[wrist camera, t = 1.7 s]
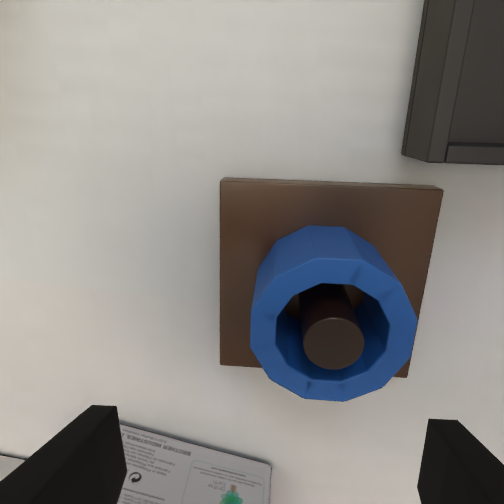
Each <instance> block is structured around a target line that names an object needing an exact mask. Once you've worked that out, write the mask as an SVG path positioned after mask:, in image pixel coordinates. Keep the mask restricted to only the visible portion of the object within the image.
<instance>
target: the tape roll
mask: <svg viewBox="0 0 504 504" xmlns="http://www.w3.org/2000/svg"><path fill="white" fill-rule="evenodd" d="M320 283H332V284H350V285H354V286H355V287H357V288H359V289H360V290H362V291H364V295H363V301H362V302H361V303H360V305H359V306H358V307H357V308H356V309H355V311H354V312H355V315H356V318H357V320H358V323H359V326H360V328H361V331H362V333H363V337H364V348H363V351H362V353H361V355H360V357H359V358H358V359H357V360H356V361H355V362H354V363H353V364H351V365H349V366H347V367H345V368H341V369H325V368H322V367H319V366H317V365H316V364H314V363H313V362H312V361H310V359H309V358H308V357H307V356H306V354H305V352H304V348H303V339H302V329H301V322H300V321H299V320H297V319H295V318H294V317H292V316H290V315H288V314H287V313H286V311H285V309H284V307H285V306H286V304H287V303H288V302H289V300H290V299H291V298H292V296H293V295H295V294H298V293H300V292H302V291H304V290H307V289H309V288H311V287H313V286H316V285H318V284H320ZM416 326H417V317H416V315H415V312H414V310H413V308H412V306H411V304H410V301H409V299H408V297H407V295H406V293H405V290H404V288H403V286H402V284H401V283H400V281H399V280H398V279H397V277H396V276H395V274H394V273H393V272H392V270H391V269H390V267H389V266H388V265H387V263H386V262H385V261H384V259H383V258H382V256H381V255H380V254H379V252H378V251H377V250H376V248H375V247H374V246H373V245H372V244H371V243H369V242H367V241H366V240H364V239H363V238H361V237H360V236H358V235H356V234H355V233H353V232H352V231H350V230H349V229H347V228H345V227H335V226H313V225H309V226H306V227H304V228H302V229H300V230H298V231H295V232H293V233H291V234H289V235H287V236H285V237H283V238H281V239H279V240H277V242H275V244H274V245H273V247H272V248H271V250H270V251H269V253H268V254H267V255H266V257H265V258H264V260H263V261H262V263H261V264H260V266H259V268H258V271H257V277H256V283H255V290H254V296H253V302H252V308H251V329H250V348H251V350H252V351H253V353H254V354H255V356H256V358H257V359H258V361H259V363H260V364H261V366H262V368H263V369H264V371H265V372H266V374H267V376H268V377H269V379H271V380H272V381H274V382H275V383H277V384H279V385H281V386H283V387H284V388H286V389H288V390H290V391H291V392H293V393H295V394H297V395H298V396H300V397H302V398H305V399H314V400H328V401H342V402H343V401H348V400H350V399H353V398H356V397H359V396H361V395H364V394H367V393H369V392H372V391H375V390H378V389H380V388H382V386H385V384H386V383H387V382H388V381H389V380H390V379H391V378H392V377H393V376H394V375H395V374H396V373H397V372H398V370H399V369H400V368H401V367H402V366H403V365H404V364H405V363H406V362H407V361H408V360H409V358H410V357H411V352H412V347H413V341H414V336H415V331H416Z"/></svg>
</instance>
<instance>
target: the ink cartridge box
mask: <svg viewBox="0 0 504 504" xmlns="http://www.w3.org/2000/svg"><path fill="white" fill-rule="evenodd" d="M120 430H121V436H122V442H123V448H124V454H125V460H126V466H127V474H126V477H125V480H124V484H123V487H122V490H121V493H120V496H119V499H118V502H117V504H270V488H271V472H272V467H271V466H270V465H268V464H265V463H260V462H257V461H253V460H249V459H246V458H242V457H238V456H235V455H231V454H227V453H223V452H220V451H216V450H212V449H208V448H205V447H201V446H197V445H194V444H190V443H186V442H183V441H179V440H176V439H172V438H169V437H165V436H162V435H158V434H154V433H151V432H146V431H142V430H139V429H135V428H132V427H128V426H124V425H121V424H120Z"/></svg>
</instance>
